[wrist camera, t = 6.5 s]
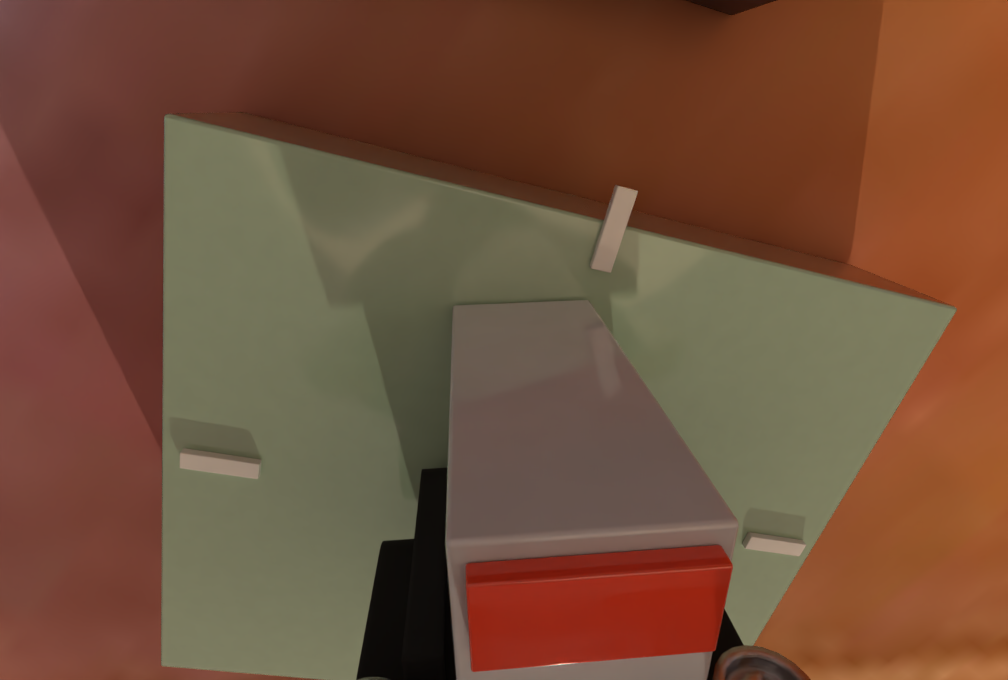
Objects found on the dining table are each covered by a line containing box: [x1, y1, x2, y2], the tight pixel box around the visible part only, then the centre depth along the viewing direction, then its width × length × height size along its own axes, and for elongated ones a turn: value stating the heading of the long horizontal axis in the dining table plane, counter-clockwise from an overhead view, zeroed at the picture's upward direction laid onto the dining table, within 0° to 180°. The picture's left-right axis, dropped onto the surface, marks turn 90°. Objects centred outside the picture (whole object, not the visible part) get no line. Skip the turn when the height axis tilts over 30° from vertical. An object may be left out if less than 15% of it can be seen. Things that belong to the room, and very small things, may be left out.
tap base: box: [161, 112, 957, 680], centre depth 12 cm, size 14×13×3 cm
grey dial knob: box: [445, 300, 739, 680], centre depth 8 cm, size 9×2×6 cm, turn 1°
